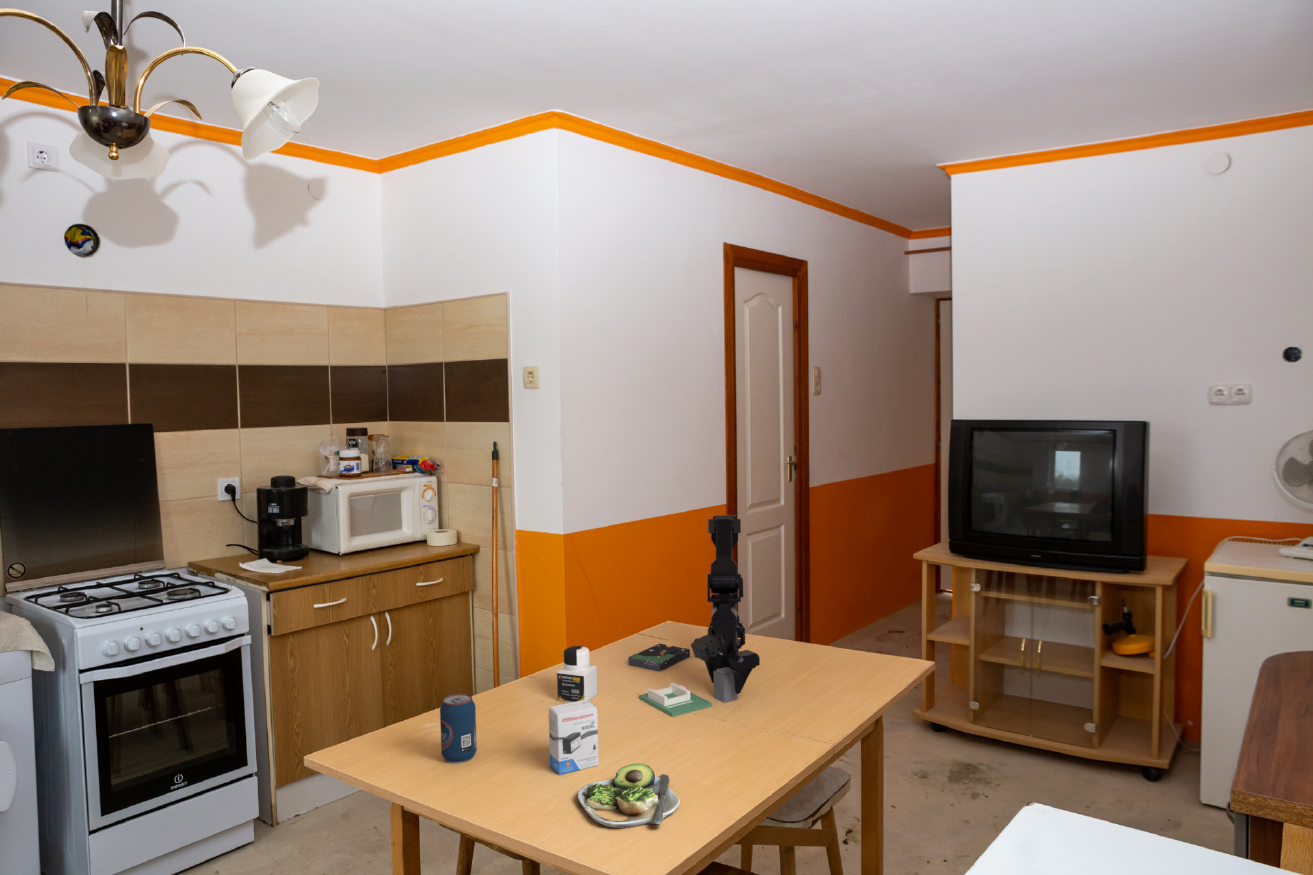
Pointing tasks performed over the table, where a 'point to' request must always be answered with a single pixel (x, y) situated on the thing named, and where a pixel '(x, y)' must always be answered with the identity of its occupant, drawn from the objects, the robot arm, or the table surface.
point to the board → (674, 700)
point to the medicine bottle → (577, 676)
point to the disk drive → (659, 657)
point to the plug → (724, 685)
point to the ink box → (573, 736)
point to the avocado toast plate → (630, 797)
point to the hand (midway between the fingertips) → (725, 688)
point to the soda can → (458, 728)
